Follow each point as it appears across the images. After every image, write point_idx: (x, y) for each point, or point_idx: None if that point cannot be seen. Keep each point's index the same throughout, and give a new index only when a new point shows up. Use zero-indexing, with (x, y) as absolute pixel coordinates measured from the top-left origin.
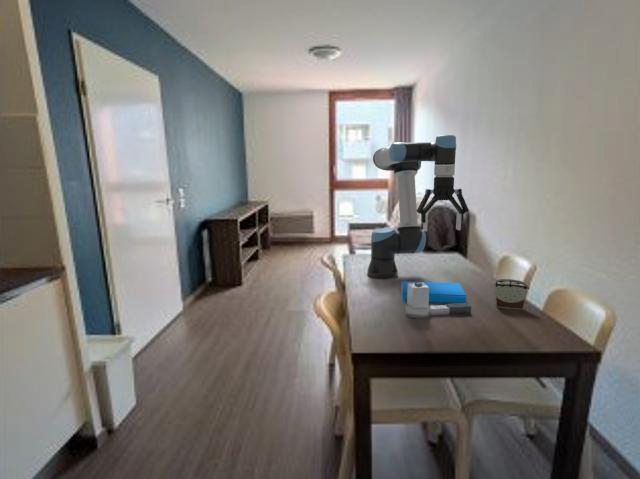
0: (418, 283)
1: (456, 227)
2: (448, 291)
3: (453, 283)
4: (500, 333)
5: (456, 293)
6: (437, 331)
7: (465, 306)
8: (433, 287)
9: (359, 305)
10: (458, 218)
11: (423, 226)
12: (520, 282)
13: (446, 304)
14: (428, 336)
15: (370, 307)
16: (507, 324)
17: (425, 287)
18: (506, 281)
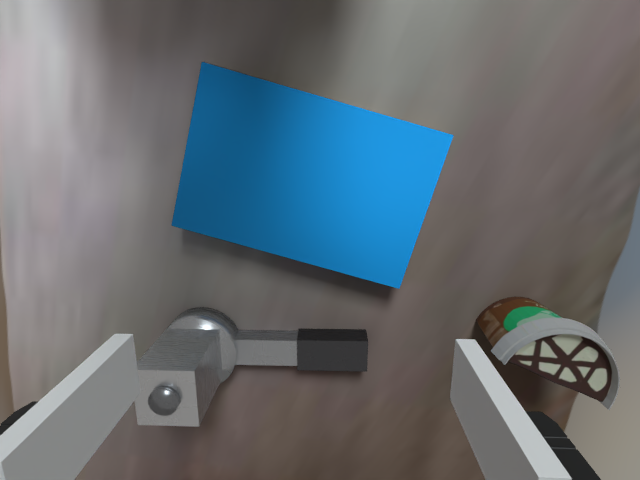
0: (163, 402)
1: (460, 362)
2: (352, 239)
3: (422, 139)
4: (373, 475)
5: (372, 265)
6: (224, 446)
7: (348, 369)
8: (312, 183)
9: (29, 247)
10: (496, 478)
11: (93, 362)
12: (612, 364)
13: (296, 343)
14: (193, 466)
15: (65, 269)
16: (424, 435)
17: (185, 425)
18: (570, 335)
